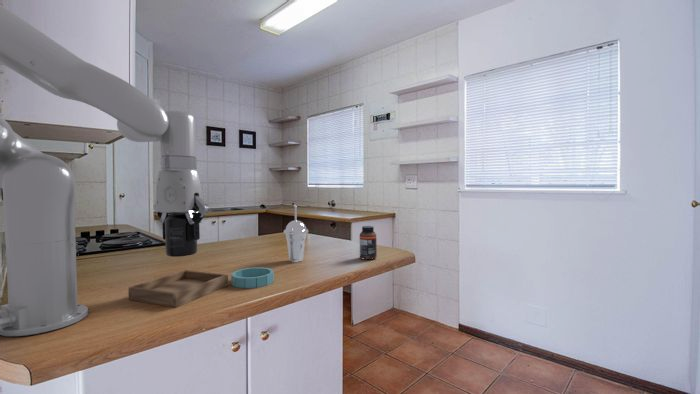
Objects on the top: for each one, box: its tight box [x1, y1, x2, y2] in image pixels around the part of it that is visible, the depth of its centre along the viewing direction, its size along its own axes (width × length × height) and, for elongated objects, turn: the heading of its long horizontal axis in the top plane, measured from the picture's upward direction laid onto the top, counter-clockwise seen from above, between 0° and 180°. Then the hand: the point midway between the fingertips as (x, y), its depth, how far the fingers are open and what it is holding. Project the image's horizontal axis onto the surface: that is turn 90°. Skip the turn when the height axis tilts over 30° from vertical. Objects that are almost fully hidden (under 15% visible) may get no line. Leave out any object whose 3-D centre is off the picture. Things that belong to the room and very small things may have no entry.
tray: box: [127, 269, 229, 308], centre depth 79 cm, size 16×14×3 cm
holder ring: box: [230, 267, 275, 289], centre depth 88 cm, size 11×11×2 cm
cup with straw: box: [282, 202, 309, 263], centre depth 111 cm, size 8×9×20 cm
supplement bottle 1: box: [164, 210, 198, 258], centre depth 79 cm, size 7×7×12 cm
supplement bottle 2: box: [359, 225, 378, 259], centre depth 116 cm, size 6×6×11 cm
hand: (181, 238), depth 79 cm, fingers closed on supplement bottle 1, 6 cm apart
